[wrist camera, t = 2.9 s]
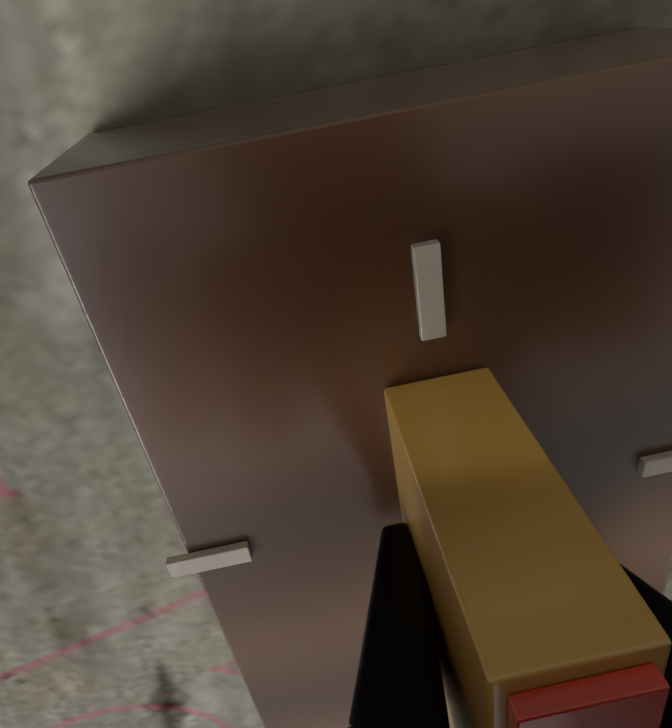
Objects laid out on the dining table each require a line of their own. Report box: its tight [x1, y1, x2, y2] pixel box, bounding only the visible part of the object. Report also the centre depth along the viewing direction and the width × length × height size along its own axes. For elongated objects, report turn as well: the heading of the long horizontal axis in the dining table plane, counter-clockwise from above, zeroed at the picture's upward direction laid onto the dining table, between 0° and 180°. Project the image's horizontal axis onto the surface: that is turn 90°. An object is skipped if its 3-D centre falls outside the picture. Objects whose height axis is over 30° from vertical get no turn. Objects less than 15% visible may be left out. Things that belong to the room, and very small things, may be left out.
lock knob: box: [384, 368, 671, 728], centre depth 8 cm, size 6×2×5 cm, turn 9°
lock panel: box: [28, 27, 672, 728], centre depth 11 cm, size 13×10×3 cm
